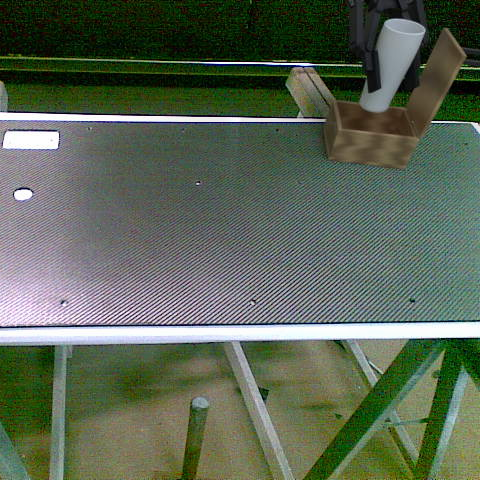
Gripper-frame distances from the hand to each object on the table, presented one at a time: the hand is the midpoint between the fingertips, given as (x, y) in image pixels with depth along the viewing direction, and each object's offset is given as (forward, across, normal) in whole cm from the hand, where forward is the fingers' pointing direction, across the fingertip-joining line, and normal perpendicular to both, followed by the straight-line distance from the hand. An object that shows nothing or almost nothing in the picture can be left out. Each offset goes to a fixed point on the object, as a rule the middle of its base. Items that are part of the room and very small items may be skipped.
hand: (393, 89), depth 84 cm
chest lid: (-1, -8, 0) cm, 8 cm away
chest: (+8, -1, -12) cm, 15 cm away
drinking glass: (+2, 0, -6) cm, 7 cm away
